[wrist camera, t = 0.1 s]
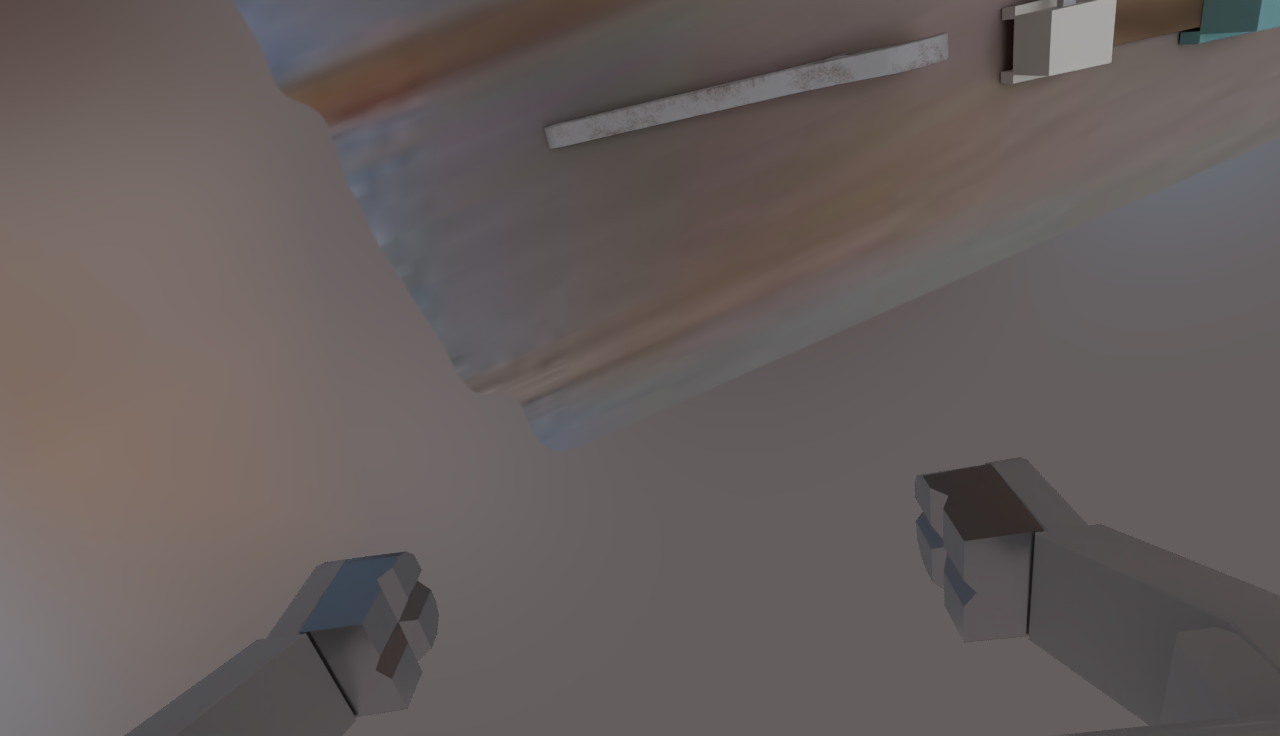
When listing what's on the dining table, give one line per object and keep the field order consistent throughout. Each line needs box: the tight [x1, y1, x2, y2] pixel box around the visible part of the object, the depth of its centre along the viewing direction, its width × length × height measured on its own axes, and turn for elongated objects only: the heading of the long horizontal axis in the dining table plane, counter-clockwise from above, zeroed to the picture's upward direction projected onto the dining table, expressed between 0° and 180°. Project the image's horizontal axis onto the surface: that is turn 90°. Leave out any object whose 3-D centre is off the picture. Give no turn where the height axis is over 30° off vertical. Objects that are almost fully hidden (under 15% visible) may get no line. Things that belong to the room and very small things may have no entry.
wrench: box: [544, 33, 948, 149], centre depth 49 cm, size 8×2×30 cm
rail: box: [1113, 0, 1204, 46], centre depth 47 cm, size 3×24×2 cm, turn 102°
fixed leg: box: [1000, 0, 1117, 84], centre depth 45 cm, size 10×4×7 cm, turn 12°
